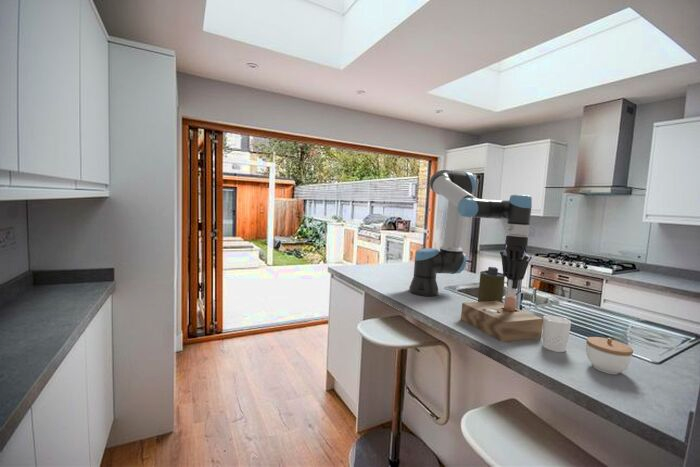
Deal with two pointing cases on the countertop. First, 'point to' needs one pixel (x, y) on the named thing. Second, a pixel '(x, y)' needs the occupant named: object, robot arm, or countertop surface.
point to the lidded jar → (608, 354)
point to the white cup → (555, 333)
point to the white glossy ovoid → (491, 311)
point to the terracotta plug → (510, 304)
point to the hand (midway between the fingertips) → (511, 296)
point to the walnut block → (502, 321)
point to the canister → (491, 285)
